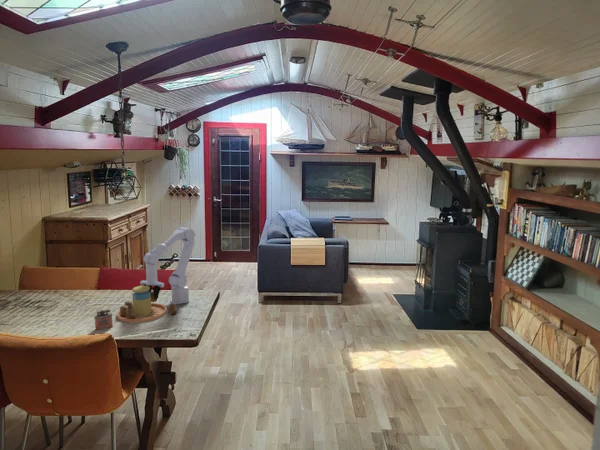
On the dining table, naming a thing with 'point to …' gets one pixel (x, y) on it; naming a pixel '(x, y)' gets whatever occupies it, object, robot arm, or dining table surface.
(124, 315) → the seated bead
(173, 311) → the bead
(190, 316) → the dining table surface
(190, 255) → the robot arm
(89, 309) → the dining table surface
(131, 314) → the seated bead
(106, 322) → the lighter
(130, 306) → the seated bead
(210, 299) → the dining table surface
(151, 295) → the bead
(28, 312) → the dining table surface
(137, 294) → the jar
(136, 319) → the dish
